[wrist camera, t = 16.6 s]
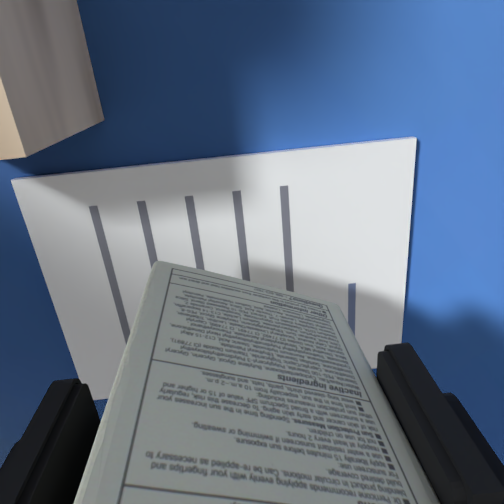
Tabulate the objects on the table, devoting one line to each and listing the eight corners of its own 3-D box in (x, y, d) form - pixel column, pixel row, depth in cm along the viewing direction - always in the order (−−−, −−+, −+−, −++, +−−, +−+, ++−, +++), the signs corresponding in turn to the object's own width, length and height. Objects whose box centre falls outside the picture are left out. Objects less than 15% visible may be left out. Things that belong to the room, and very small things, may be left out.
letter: (88, 395, 19) (86, 401, 18) (14, 177, 14) (10, 180, 14) (397, 361, 19) (399, 365, 18) (413, 136, 15) (416, 137, 14)
